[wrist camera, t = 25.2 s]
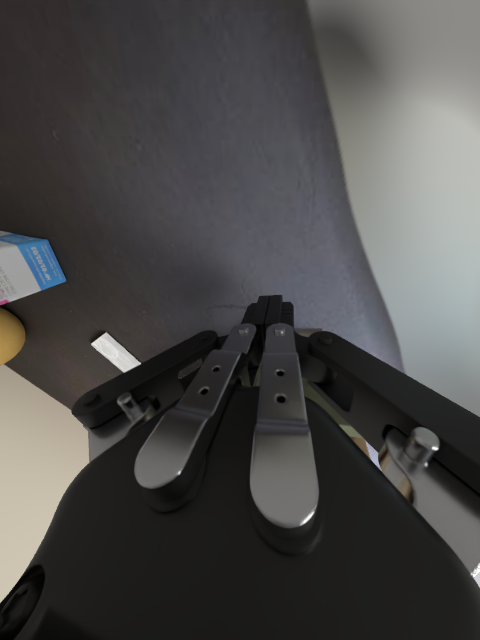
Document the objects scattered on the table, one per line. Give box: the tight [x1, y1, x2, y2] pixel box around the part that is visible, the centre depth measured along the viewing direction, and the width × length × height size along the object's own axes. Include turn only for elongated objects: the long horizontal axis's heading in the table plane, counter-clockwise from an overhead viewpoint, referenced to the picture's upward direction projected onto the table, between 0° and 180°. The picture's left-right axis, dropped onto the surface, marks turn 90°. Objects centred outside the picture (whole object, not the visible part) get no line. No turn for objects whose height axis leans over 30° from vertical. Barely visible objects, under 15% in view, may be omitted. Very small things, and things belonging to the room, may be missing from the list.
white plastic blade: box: [91, 332, 141, 373], centre depth 29 cm, size 5×15×1 cm, turn 35°
